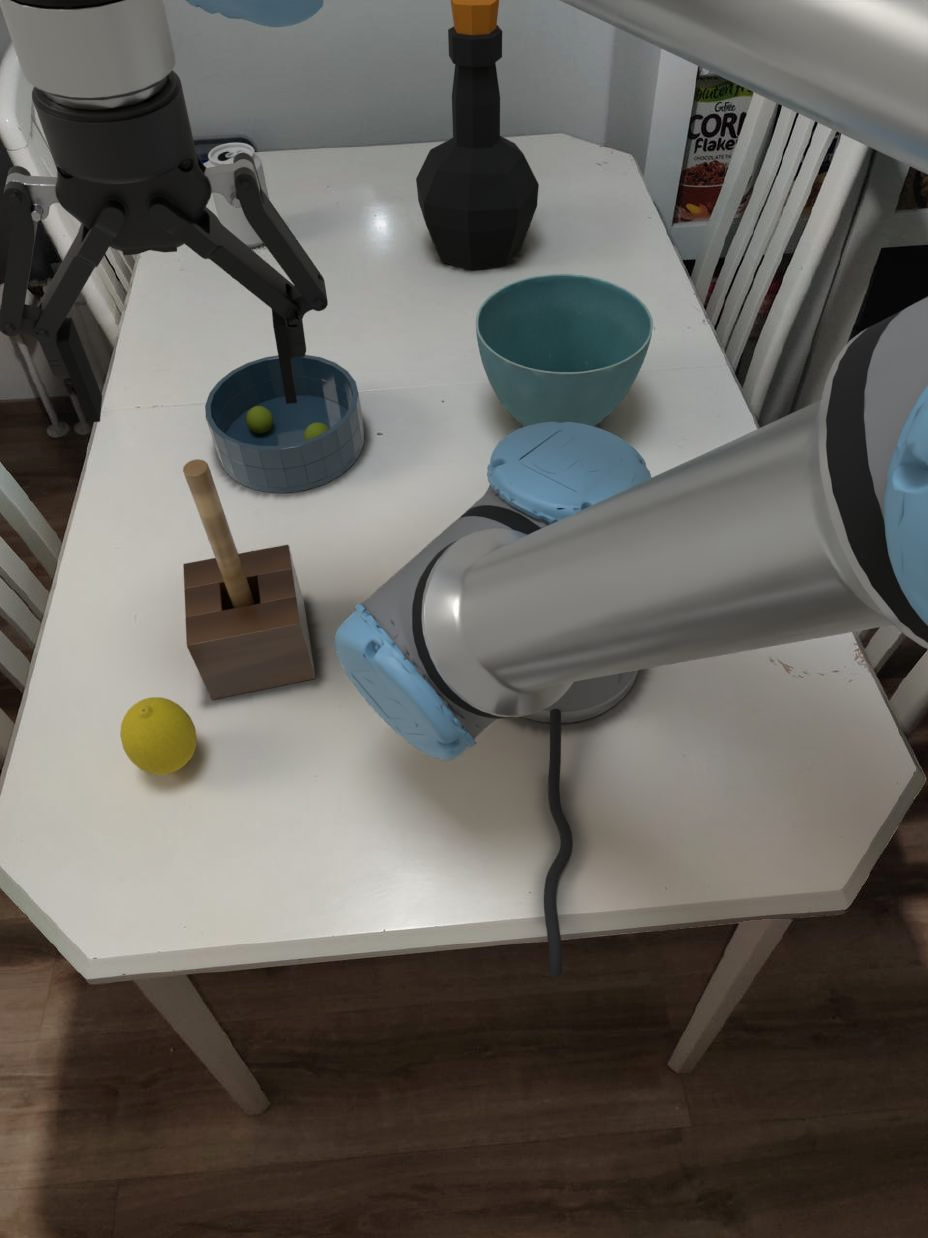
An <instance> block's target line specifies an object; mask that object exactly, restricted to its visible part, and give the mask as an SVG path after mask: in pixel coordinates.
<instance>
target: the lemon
mask: <svg viewBox="0 0 928 1238" xmlns="http://www.w3.org/2000/svg"><path fill="white" fill-rule="evenodd" d="M119 731H120V732H119V733H120V734H119V735H120V740H121V741H120V742H121V745H122V748H123V751H124V753H125V755H126V756H127V758H128V759H129V760H130V762H131V763H132V764H133V765H134V766H135V767H137V768H138V769H139V770H141V771H143V772H145V773H148V774H151V775H161V776H162V775H168V774H171V773H174V772H177V771H178V770H180V769H182V768H184V767H185V766H186V765H187V764H188V763H189V761H190V760H191V759H192V758H193V756H194V753H195V751H196V747H197V741H198V737H197V730H196V726H195V724H194V722H193V720H192V718H191V716H190V714H189V713H188V712H187V711H186V710H185V709H184V708H183V707H182V706H181V705H180V704H178V703H177V702H175V701H173V700H171V699H169V698H166V697H161V696H159V697H158V696H157V697H155V696H153V697H147V698H144V699H142V700H139V701H137V702H136V703H134V704H133V705H132V706H131V707H130V708H129V709H128V710H127V712H126V713H125V714H124V716H123V719H122V721H121V724H120V730H119Z"/></svg>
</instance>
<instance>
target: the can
mask: <svg viewBox="0 0 928 1238" xmlns="http://www.w3.org/2000/svg"><path fill="white" fill-rule="evenodd" d="M255 151H256V150H255V148H254V147H253V146H252V145H250V144H249V143H245V142H227V143H223V144H219V145H217V146H215V147H213V148H212V149H210V151H209V152H208V153H207V158H208V161H207V162H206V165H205V167H206V168H209V167H215V166H221V165H226V164H232V163H233V160H234V157H235V156H236V155H237V154H239V153H247V154H249V155H250V156H251V157H252V158H253V160H254V163H255V167H256V170H257V174H258V177H259V181H260V185H261V188H262V190H263V191H264V193H265V194H266V196H267V197H268V199H269V200H270V195H269V192H268V186H267V181H266V176H265V171H264V166H263V162H262V159H261V157H260V156H259V155H258V154H256V152H255ZM211 195H212V198H213V202H214V206H215V210H216V214H217V218H218V219H219V221H220V223H221V224H222V225H223V226H224V227H226V228H227V229H228V230H229V231H230V232H231V233H233V234H234V235H235V236H236V237H237V238H239V239H240V240H241V241H242V242H243V243H244V244H246V245H247V246H248V247H249V248H250V249H252V248H256V247H260V246H262V245H264V243H263V242H262V241H261V239H260V238H259V236H258V235H257V234H256V232H255V231H254V230H253V228H252V227H251V225H250V224H249V222H248V221H247V219H246V217H245V215H244V213H243V210H242V207H239V208H235V207H233V206H232V205H230V204H229V203H228V201H227V200H226V198H225V197H224V196H223V195H222V194H220V193H216V192H214V193H211Z"/></svg>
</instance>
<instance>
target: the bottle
mask: <svg viewBox="0 0 928 1238" xmlns="http://www.w3.org/2000/svg"><path fill="white" fill-rule="evenodd" d="M450 6H451V15H452V21H453V26H451V27H450V28H448V29H447V35H448V36H447V39H448V40H447V42H448V57H449V59H450V60H451V62H452V64H453V65H454V70H453V80H452V88H451V89H452V90H451V116H452V117H451V118H452V120H451V121H452V137H451V138H449V139H447V141H444V142H442V143H440V144H438V145H436V146H435V147H432V148H430V149H429V151H428V153H427V155H426V158H425V159H424V162H423V164H422V165H421V168H420V170H419V172H418V174H417V176H416V178H415V183H416V192H417V200H418V204H419V207H420V211H421V214H422V217H423V220H424V223H425V227H426V228H427V231H428V233H429V236H430V238H431V240H432V243H433V245H434V248H435V250H436V253H437V255H438V257H439V259H440V262H441V263H444V264H448V265H451V266H454V267H458V268H461V269H464V270H467V271H471V272H474V271H479V270H485V269H491V268H492V269H493V268H498V267H499V268H500V267H505V266H507V265H508V264H509V263H510V262H511V261H512V260H513V259H514V258H515V257H516V256H517V255H518V254H519V253H521V251H522V248H523V246H524V243H525V241H526V237H527V235H528V232H529V231H530V227H531V224H532V221H533V219H534V216H535V213H536V210H537V208H538V199H539V189H540V187H539V186H540V183H539V181H538V180H537V178H536V176H535V174H534V172H533V170H532V168H531V166H530V164H529V162H528V160H527V158H526V156H525V154H524V153H523V151H522V150H521V149H520V148H519V146H518V145H517V144H516V143H515V142H513V141H511V140H510V139H508V138H505V137H504V136H501V94H500V86H499V85H500V84H499V78H498V71H497V65H496V64H497V62H498V61H499V60H501V59H502V58H503V29H502V28H501V27H500V26H499V25H498V18H499V17H498V16H499V7H500V0H450Z"/></svg>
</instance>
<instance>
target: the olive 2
mask: <svg viewBox="0 0 928 1238" xmlns="http://www.w3.org/2000/svg"><path fill="white" fill-rule="evenodd" d="M327 430H329V427H328V426H327V425H325V424H323V423H319V422H316V423H312V424H311V425H309V426H308V427H307V429H306V430H305V434H304V438H305V440H308V439H311V438H314V437H317V436H319V435H320V434H322V433H324V432H326V431H327Z"/></svg>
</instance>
